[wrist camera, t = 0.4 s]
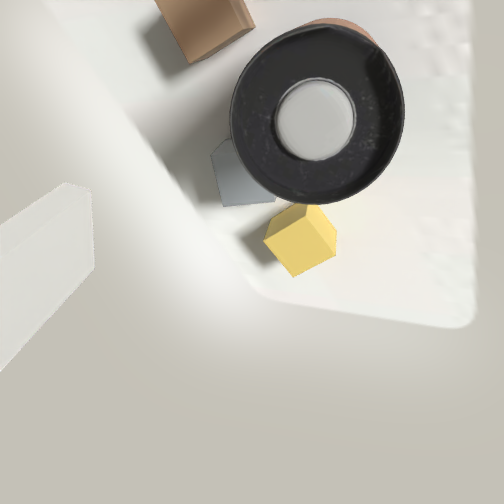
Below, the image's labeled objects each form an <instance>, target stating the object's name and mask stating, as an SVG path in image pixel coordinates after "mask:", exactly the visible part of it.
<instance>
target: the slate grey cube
mask: <svg viewBox="0 0 504 504" xmlns="http://www.w3.org/2000/svg"><path fill="white" fill-rule="evenodd" d="M211 159H212V163H213V167H214V171H215V175H216V180H217V184H218V188H219V192H220V196H221V200H222V204H223V207H226V206H237V205H247V204H258V203H269V202H275V200H276V197H277V196H275V195H273V194H271V193H270V192H268V191H267V190H265V189H264V188H263V187H261V186H260V185H259V184H258V183H257V182H256V181H255V180H254V179H253V178H252V177H251V176H250V175H249V174H248V172H247V171H246V170H245V168H244V167H243V165H242V164H241V162H240V160H239V158H238V156H237V154H236V151H235V148H234V145H233V142H232V139H228V140H224V141H223V143H222V144H221V145H220V146H219V147H218V148H217V149H216V150H215V151H214V152H213V153H212V154H211Z"/></svg>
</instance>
